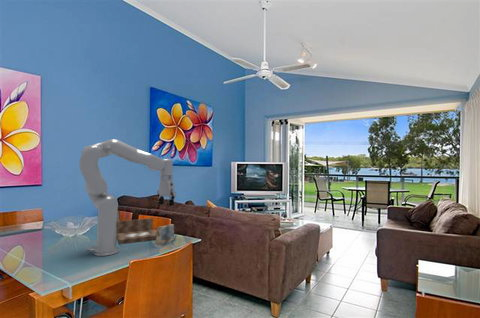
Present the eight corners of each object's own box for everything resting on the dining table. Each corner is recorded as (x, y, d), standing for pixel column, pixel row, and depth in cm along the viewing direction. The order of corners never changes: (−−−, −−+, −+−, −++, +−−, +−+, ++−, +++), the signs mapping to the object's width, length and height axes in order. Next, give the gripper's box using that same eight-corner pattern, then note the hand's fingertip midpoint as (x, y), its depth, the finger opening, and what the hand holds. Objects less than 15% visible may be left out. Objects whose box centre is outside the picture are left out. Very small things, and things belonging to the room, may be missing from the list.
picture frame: (160, 244, 164) (160, 228, 164) (154, 243, 167) (154, 227, 167) (175, 240, 174) (175, 224, 174) (169, 239, 177) (170, 223, 177)
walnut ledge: (119, 244, 164) (119, 227, 164) (115, 237, 181) (116, 221, 182) (159, 239, 176) (159, 223, 177) (152, 232, 193) (152, 218, 194)
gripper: (180, 178, 170) (180, 205, 170) (162, 177, 180) (162, 203, 179) (170, 178, 164) (171, 206, 163) (152, 178, 174) (152, 204, 173)
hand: (166, 205), depth 171 cm, fingers open, 9 cm apart
